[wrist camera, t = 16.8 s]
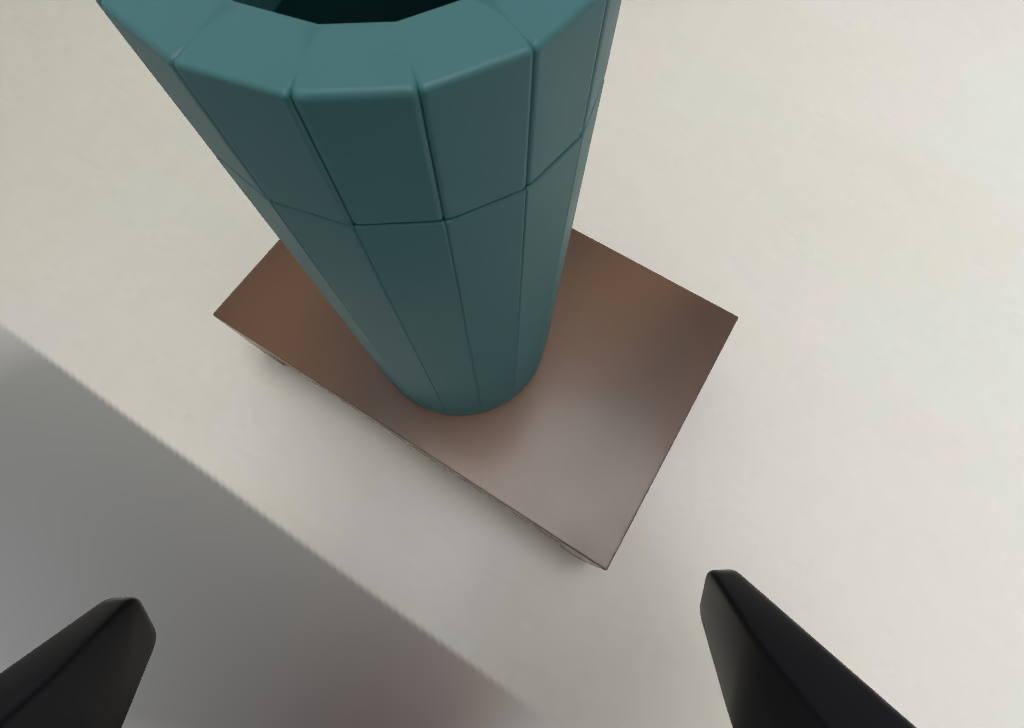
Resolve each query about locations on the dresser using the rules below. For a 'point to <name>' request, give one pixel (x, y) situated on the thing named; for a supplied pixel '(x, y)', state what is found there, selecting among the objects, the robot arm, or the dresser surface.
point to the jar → (402, 160)
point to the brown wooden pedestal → (527, 389)
